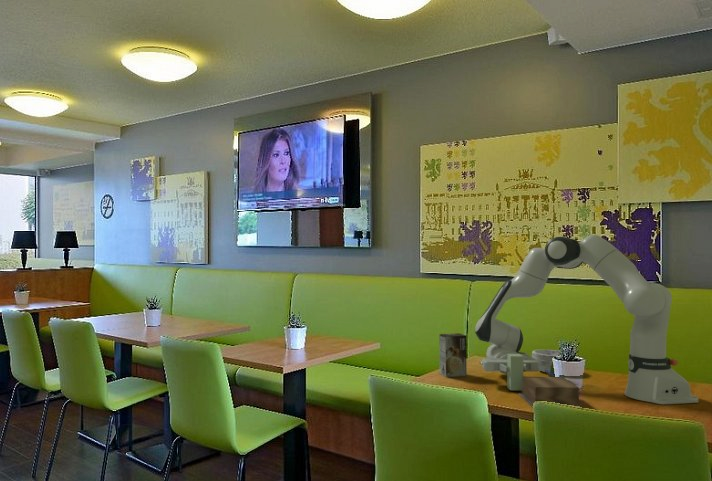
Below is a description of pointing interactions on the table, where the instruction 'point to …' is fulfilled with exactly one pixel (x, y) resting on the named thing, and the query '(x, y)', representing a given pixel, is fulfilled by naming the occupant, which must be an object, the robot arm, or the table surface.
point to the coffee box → (452, 355)
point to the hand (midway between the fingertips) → (515, 369)
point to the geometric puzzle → (550, 371)
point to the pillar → (515, 371)
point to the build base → (549, 390)
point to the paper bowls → (544, 358)
